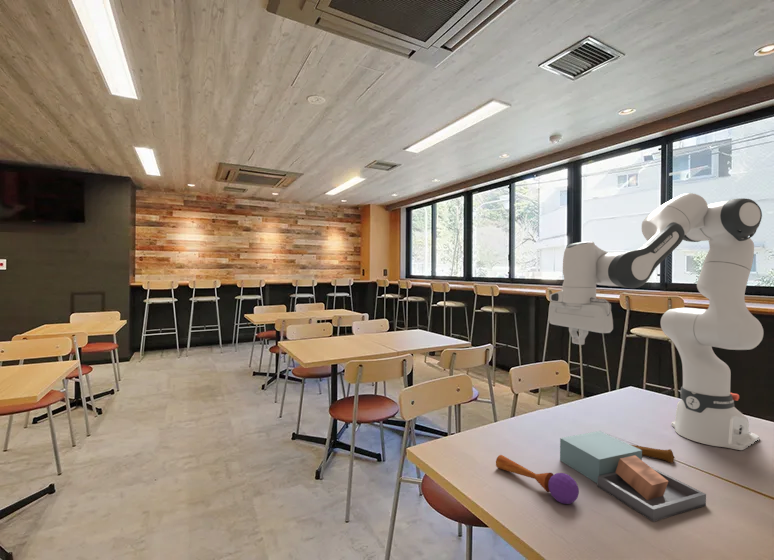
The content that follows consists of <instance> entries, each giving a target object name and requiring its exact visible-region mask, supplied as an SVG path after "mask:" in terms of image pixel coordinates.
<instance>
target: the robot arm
mask: <svg viewBox="0 0 774 560" xmlns="http://www.w3.org/2000/svg"><path fill="white" fill-rule="evenodd" d="M762 217H763V213H762V209H761V207H760V205H759V204H758V203H757V202H756V201H755V200H752V199H751V198H746V197H745V198H742V197H741V198H731V199H729V200H723V201H717V202H713V203H708V202H707V201H706V199H705V198H704V197H703V196H701V195H699V194H697V193H693V192H692V193H691V192H688V193H682V194H679V195H678V196H675V197H673V198H672V199H669V200H668V201H666V202H664V203H663V204H661V205H660V206H658V207H657V208H656V209H654V210H652V211H651V212H650V213H649V214H648V215H646V217H645V218H644V219H643V221H642V223H641V233H642V235H643V237H644V238H645V240H646V242H645V243H644V244H643V245H642V246H641V247H640V248H637V249H634V250H630V251H629V250H627V251H621V252H620V251H619V252H608V251H606V250H603V249H602V248H600V247H598V246H597V245H596V244H595V242H594V241H589V240H587V241H586V240H585V241H579V242H574V243H569V244H568V245H567V246H566V247H565V249H564V252H563V258H562V275H563V282H562V289H561V290H559V291H555V292H553V293H551V294H549V296H548V298H549V301H550V302H549V305H548V322H549V323H550V325H554V326H558V327H559V326H560V327H566V328H568V332H569V334H570V336H571V343H572V344H574V345H575V344H576V345H580V346H583V345H585V343H586V342H585V341H586V338H587V336H588V335H589V332H593V333H599V334H611V332H612V331H613V330H614V319H613V313H612V304H611V303H610V302H609V300H607V299H605V298H597V285H599V286H608V287H621V288H628V289H638V288H640V287H642V286H643V285H645V284H646V283H647V282H648V281H649V280H650V279H651V276H652V274H653V273H654V272H655V270H656V269H657V268H658V266H659V265H660V264H661V263H662V262H663V261H664V260H665V259H666V258H667V257H668V256H669V255H671V253H672V252H673V251H674V250H676V249H677V247H679V245H680V244H681V243H682V242H683V241H685V242H691V243H698V242H702V241H703V242H705V241H706V242H707V241H708V245H709V250H708V252H707V254H706V256H705V258H704V261H703V264H702V267H701V270H700V273H699V276H698V279H697V283H696V288H697V291H698V292H699V293H700V294H701V295H702V296H703V297H704V298H706V299H708V300H709V305H708V307H707V309H706V308H696V307H675V308H670V309H668V310H666V311H665V312H664V313H663V314H662V316H661V318H660V328H661V330H662V333H663V334H664V335H666V336H667V337H668V338H669V339H670V340H671V342H672V343H673V344H674V347H675V348H676V349H677V351H678V354H679V357H680V360H681V366H682V386H681V387H680V391H679V392H680V399H681V400H679V401H678V402H677V404H676V410H675V417H674V418H675V419H674V421H671V423H670V425H671V426H672V427H673V428H674V431H675V432H676V434H678V435H679V436H681V437H682V438H685V439H688V440H691V441H692V442H697V443H699V444H700V443H701V444H703V445H706V446H711V447H712V446H713V447H720V448H721V447H722V448H728V449H733V450H736V451H737V450H739V451H744V450H746V449H747V448H749V447H750V446H751V444H752V445H754V444H755V443H756V442H755V441H757V440H758V441H760V440H759V439H761V438H760V436H759V435H758V434H756V433H754V432H752V431H750V428H749V426H750V424H749V422H750V421H749V419H748V417H747V416H746V415H744V414H743V412H741V411H740V410H738V409H737V408H736V407H735V401H739V399H740V395H739V394H738V393H733V392H731V375H732V374H731V369H730V367H729V365H728V364H727V362H724V361H723V360H722V359H720V358H719V357H718V356H717V355H716V354H715V352H714V350H713V348H719V349H724V350H733V351H734V350H735V351H747V350H753V349H755V348H757V346H759V345H760V343H761V342H762V341H763V338H764V332H765V331H764V328H763V326H762V325H763V324H762V323H761V322H760V321H759V319H758V318H756V317H755V316H754V315H753V314H752V313H751V312H750V310H749V309H748V307H747V304H746V298H745V295H746V294H745V293H746V290H747V289H746V288H747V286H748V285H747V284H748V280H749V277H750V273H751V271H752V266H753V262H754V253H755V244H754V240H752V239H751V238H753V236H754V235H755V234H756V232H757V230H758V228H759V226H760V224H761V222H762ZM578 333H579V335H578ZM758 441H757V442H758ZM754 442H755V443H754ZM748 446H749V447H748Z"/></svg>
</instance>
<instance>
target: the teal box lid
mask: <svg viewBox="0 0 774 560" xmlns="http://www.w3.org/2000/svg"><path fill="white" fill-rule="evenodd" d="M559 445H560V446H559V461H560V462H562V463H563V464H565V465H567V466H568V467H570V468H571V469H573V470H574V471H576V472H578V473H580V474H581V475H583V476H584V477H586V478H587V479H589V480H591V481H593V482H594V483H596V485H598V476H600V475H604V474H609V473H613V472H616V469H617V466H618V463H619V459H620V458H625V457H630V456H634V455H635V456H637V457H638V458H639V459H641V460H642V461H643V456H642V450H640V449H638V448H636V447H634V446H632V445H633V444H630V445H629V443H627V442H625V441H622V440H620V439H618V438H617V437H614V436H612V435H610V434H608V433H606V432H604V431H601V430H598V431H591V432H586V433H581V434H575V435H570V436H564V437H560V438H559Z"/></svg>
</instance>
